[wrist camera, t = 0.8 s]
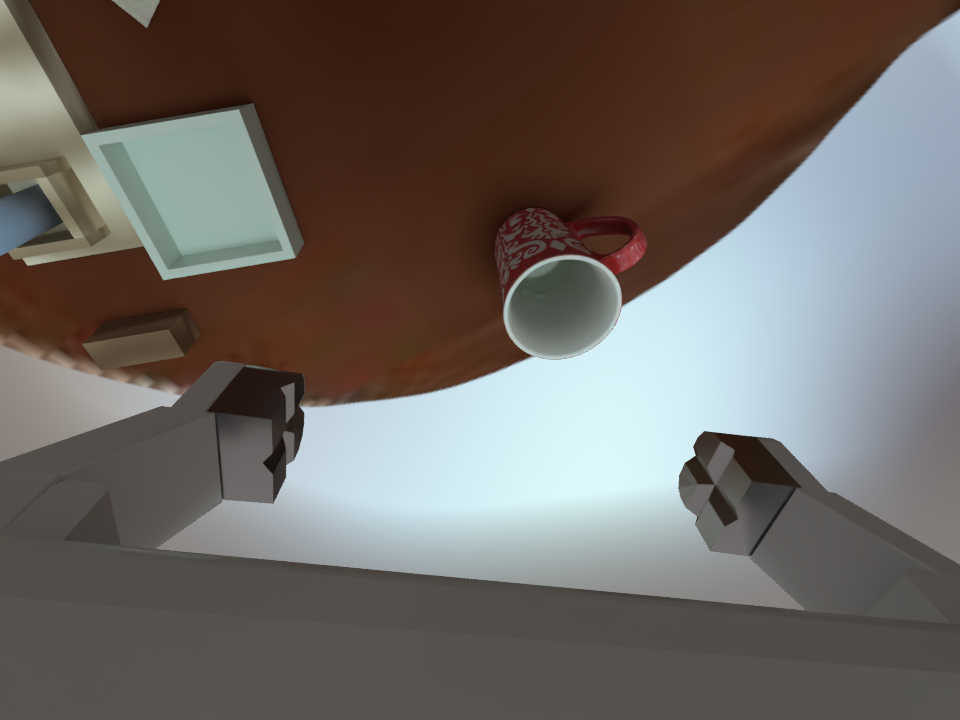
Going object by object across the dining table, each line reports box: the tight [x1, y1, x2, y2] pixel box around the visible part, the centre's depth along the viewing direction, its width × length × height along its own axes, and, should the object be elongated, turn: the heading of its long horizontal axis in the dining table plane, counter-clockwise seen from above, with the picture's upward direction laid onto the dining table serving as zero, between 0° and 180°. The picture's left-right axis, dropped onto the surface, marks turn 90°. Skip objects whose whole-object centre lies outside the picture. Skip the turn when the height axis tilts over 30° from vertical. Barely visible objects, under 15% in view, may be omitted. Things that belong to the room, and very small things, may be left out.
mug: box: [495, 208, 647, 360], centre depth 40 cm, size 13×9×14 cm
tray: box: [81, 103, 304, 280], centre depth 39 cm, size 12×12×4 cm
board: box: [0, 0, 144, 265], centre depth 35 cm, size 18×10×6 cm, turn 8°
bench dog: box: [82, 309, 201, 370], centre depth 46 cm, size 3×8×4 cm, turn 98°
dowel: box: [0, 184, 63, 256], centre depth 34 cm, size 3×3×9 cm
